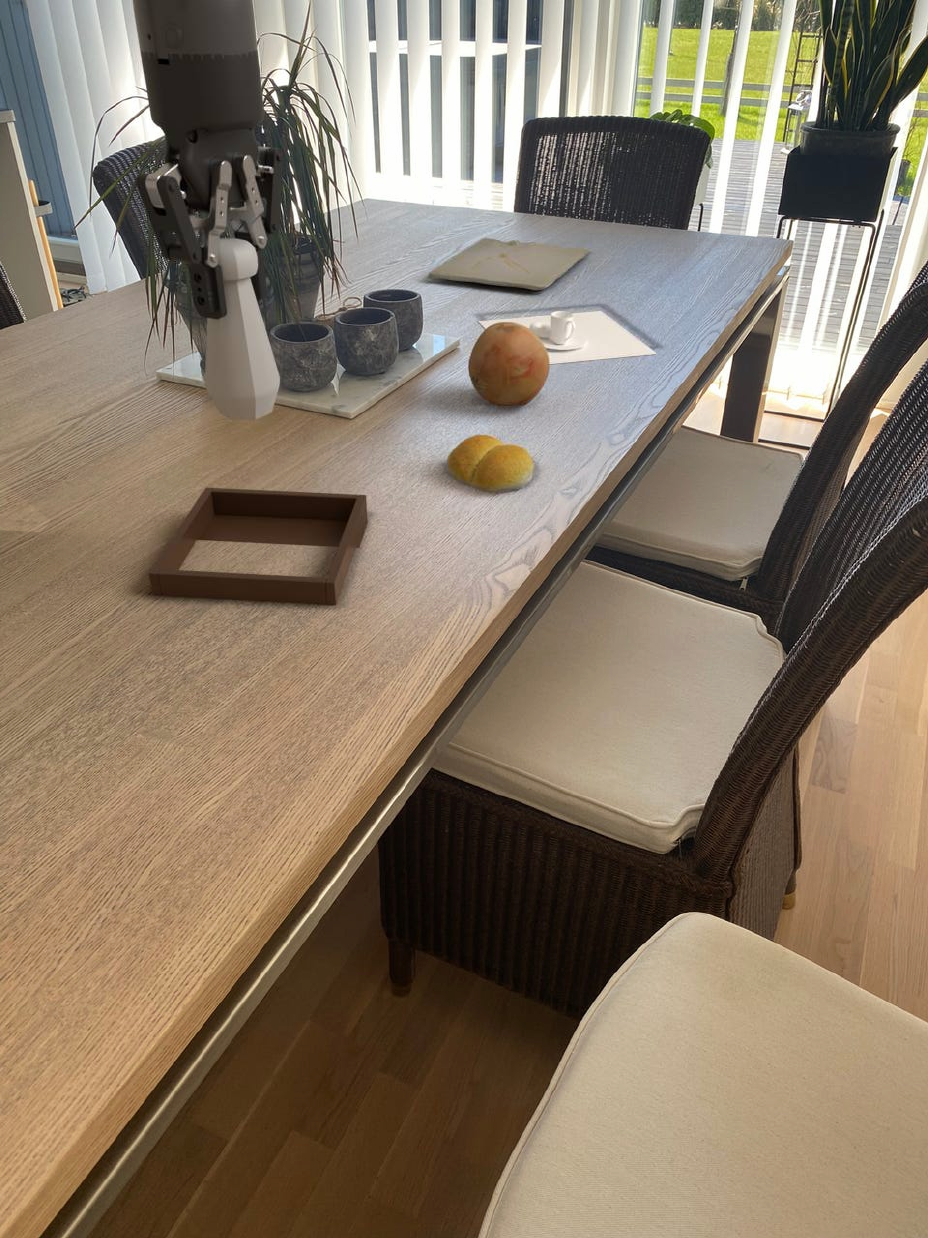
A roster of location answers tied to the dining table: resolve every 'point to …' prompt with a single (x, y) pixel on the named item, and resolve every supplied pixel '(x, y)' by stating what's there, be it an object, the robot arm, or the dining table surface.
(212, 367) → the salt shaker
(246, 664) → the dining table surface
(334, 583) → the tray
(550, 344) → the teacup and saucer
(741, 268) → the dining table surface
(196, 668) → the dining table surface
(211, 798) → the dining table surface
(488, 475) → the bread roll
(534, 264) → the decorative slab
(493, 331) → the onion
